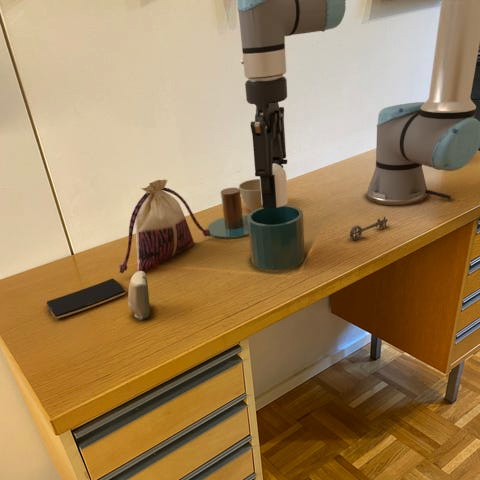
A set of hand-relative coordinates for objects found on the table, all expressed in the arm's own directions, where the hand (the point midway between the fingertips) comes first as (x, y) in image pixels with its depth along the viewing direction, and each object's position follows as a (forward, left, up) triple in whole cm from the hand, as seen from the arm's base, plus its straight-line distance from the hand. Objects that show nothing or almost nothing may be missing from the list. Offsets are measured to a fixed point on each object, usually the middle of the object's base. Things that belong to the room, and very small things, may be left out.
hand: (274, 201), depth 101 cm
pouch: (+26, +3, -14) cm, 29 cm away
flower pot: (+14, -29, -14) cm, 35 cm away
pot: (0, 0, -13) cm, 13 cm away
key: (-17, -16, -14) cm, 27 cm away
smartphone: (+34, +24, -13) cm, 44 cm away
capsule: (0, 0, 0) cm, 1 cm away
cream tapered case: (+19, +26, -14) cm, 35 cm away
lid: (+16, -15, -13) cm, 25 cm away
